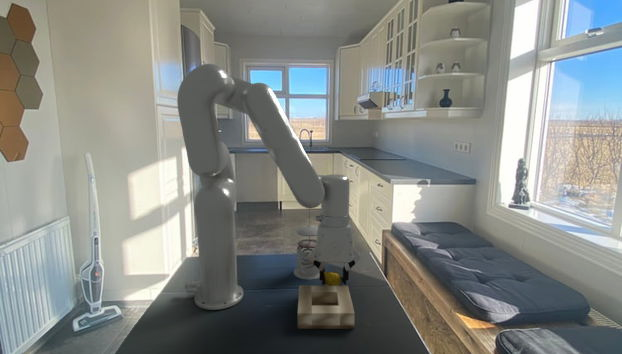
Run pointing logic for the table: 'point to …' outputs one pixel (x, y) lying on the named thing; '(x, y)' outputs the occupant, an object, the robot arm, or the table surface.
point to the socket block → (325, 308)
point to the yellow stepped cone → (333, 279)
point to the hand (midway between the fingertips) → (333, 281)
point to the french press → (306, 253)
